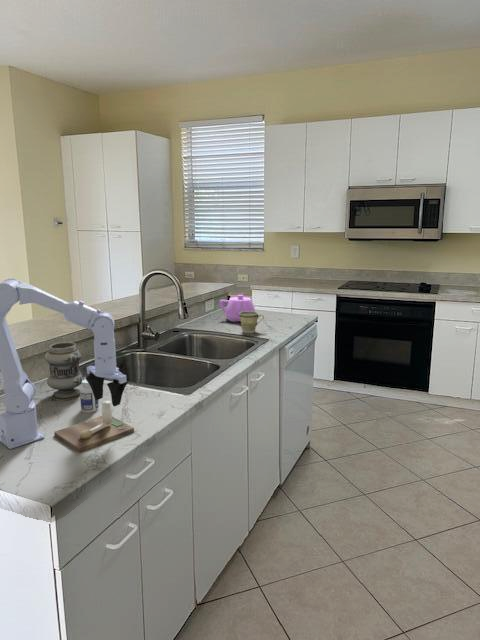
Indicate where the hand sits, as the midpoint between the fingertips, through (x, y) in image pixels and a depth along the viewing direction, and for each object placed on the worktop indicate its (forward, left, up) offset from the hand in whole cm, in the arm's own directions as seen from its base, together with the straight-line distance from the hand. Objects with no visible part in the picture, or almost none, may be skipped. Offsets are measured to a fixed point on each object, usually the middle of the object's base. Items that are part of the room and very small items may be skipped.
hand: (107, 401), depth 137 cm
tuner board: (-4, +1, -9) cm, 10 cm away
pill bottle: (+4, +18, -9) cm, 21 cm away
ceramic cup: (+117, +50, -9) cm, 128 cm away
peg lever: (-4, 0, -7) cm, 8 cm away
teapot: (+133, +73, -9) cm, 152 cm away
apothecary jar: (+5, +35, -9) cm, 36 cm away
